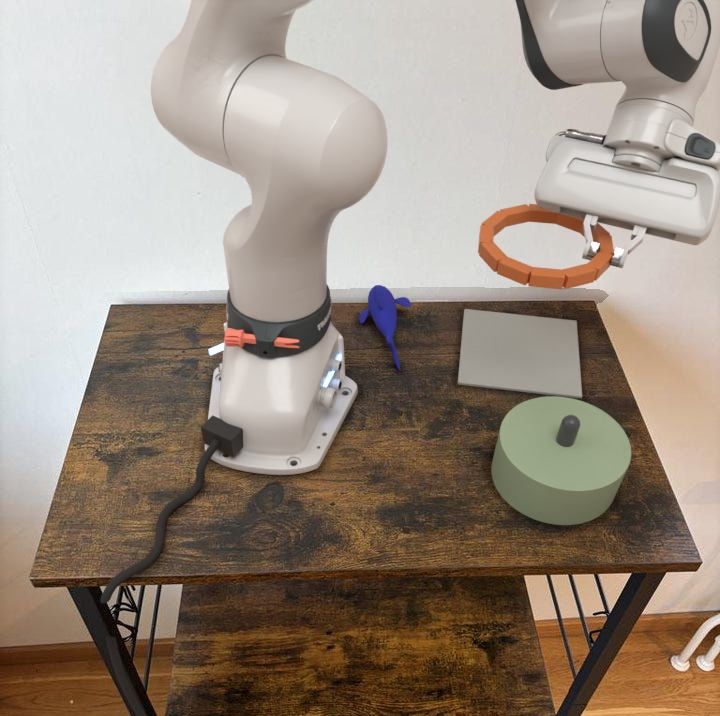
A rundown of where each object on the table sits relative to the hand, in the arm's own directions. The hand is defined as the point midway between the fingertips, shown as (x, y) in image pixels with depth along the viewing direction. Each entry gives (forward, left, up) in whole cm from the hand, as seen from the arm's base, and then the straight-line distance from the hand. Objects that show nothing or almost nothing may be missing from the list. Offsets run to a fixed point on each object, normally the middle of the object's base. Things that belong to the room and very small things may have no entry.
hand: (602, 262), depth 85 cm
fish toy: (+3, +25, -17) cm, 30 cm away
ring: (+3, +7, -1) cm, 7 cm away
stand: (-19, +3, -16) cm, 26 cm away
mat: (+3, +7, -16) cm, 18 cm away
